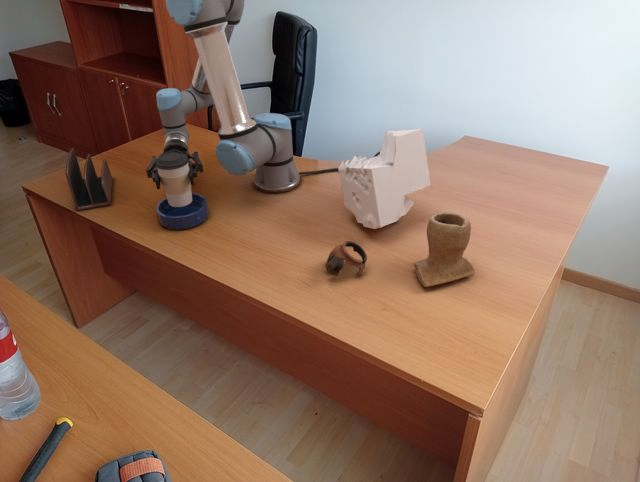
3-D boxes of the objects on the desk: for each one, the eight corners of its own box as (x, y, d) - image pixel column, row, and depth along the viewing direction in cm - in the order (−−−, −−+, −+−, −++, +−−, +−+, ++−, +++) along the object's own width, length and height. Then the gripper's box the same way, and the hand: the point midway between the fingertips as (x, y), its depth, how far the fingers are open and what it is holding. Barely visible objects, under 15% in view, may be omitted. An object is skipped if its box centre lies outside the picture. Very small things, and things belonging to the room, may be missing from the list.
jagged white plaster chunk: (379, 239, 129) (362, 146, 122) (346, 231, 143) (329, 147, 135) (435, 217, 138) (423, 129, 131) (399, 211, 152) (386, 131, 144)
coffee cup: (188, 210, 139) (178, 162, 130) (159, 207, 141) (147, 160, 132) (200, 194, 146) (192, 148, 138) (173, 192, 148) (162, 146, 139)
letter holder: (76, 211, 152) (62, 170, 144) (82, 183, 167) (69, 144, 159) (110, 205, 154) (97, 164, 146) (112, 178, 170) (101, 140, 162)
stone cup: (453, 252, 128) (461, 202, 120) (479, 278, 119) (490, 227, 110) (401, 264, 124) (405, 214, 116) (424, 293, 115) (431, 241, 107)
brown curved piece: (333, 255, 129) (349, 233, 125) (359, 279, 127) (376, 258, 123) (309, 269, 120) (326, 246, 115) (337, 296, 117) (355, 274, 113)
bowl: (211, 204, 153) (209, 191, 150) (204, 229, 141) (202, 216, 138) (165, 206, 152) (162, 193, 150) (154, 232, 140) (150, 218, 138)
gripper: (212, 157, 157) (215, 189, 139) (143, 164, 153) (137, 199, 135) (208, 135, 153) (211, 166, 135) (138, 142, 149) (131, 175, 131)
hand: (174, 182), depth 135 cm, fingers closed on coffee cup, 9 cm apart
